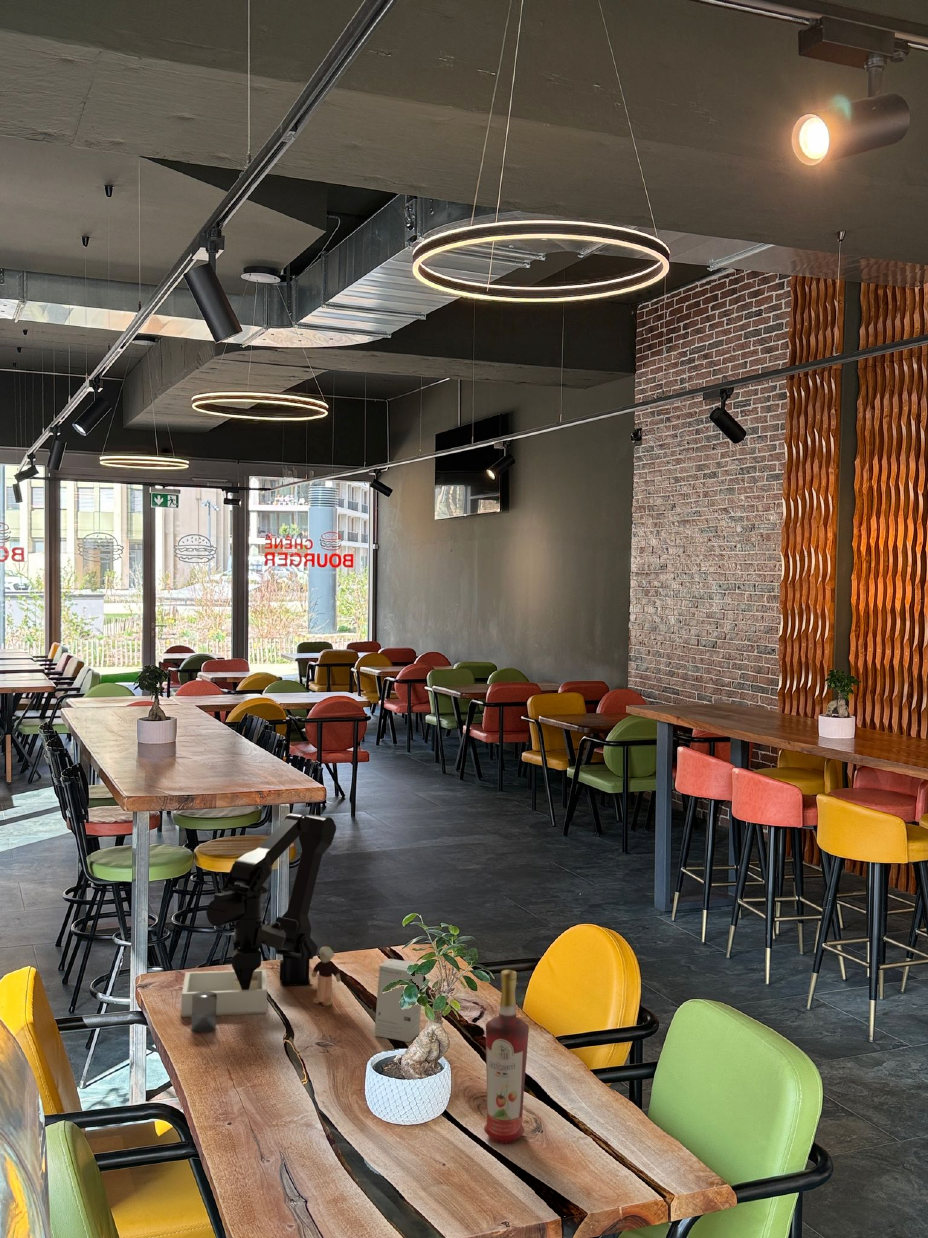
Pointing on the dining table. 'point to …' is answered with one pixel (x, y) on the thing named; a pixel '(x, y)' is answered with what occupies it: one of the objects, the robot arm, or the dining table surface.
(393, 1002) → the skincare box
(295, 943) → the robot arm
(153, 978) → the dining table surface
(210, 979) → the tote
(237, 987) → the wood cube
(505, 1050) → the liquor
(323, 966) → the grandmother figurine
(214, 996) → the metal cylinder
